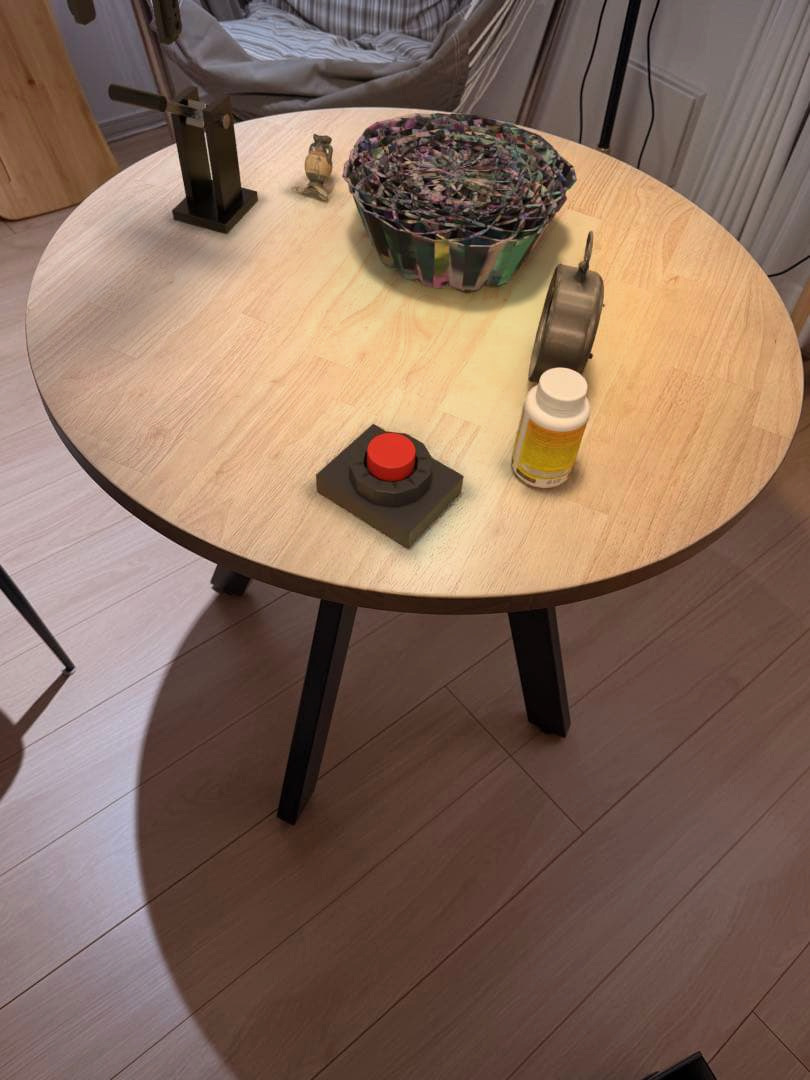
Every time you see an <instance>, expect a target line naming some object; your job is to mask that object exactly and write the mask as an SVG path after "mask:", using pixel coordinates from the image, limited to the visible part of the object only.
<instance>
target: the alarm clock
mask: <svg viewBox="0 0 810 1080" xmlns="http://www.w3.org/2000/svg"><path fill="white" fill-rule="evenodd" d="M586 237H587V238H586V241H585V242H586V243H585V247H584V255H583V260H582V261H580V262H579V263H578V266H577V267H576V266H571V265H566V264H563V263H559V264H557V265H556V266H555V268H554V271H553V274H552V276H551V279H550V282H549V284H548V288H547V293H546V295H545V299H544V303H543V307H542V310H541V313H540V314H541V315H540V318H539V322H538V326H537V330H536V333H535V338H534V343H533V346H532V352H531V356H530V362H529V366H528V367H529V368H528V376H527V377H528V378H527V379H528V381H529V382H530V383H534V384H539V380H540V377H541V376H542V374H543V373H544V372H546V371H547V370H549V369H553V368H568V369H571V370H574V371H576V372H578V373H579V374H580V375H582V376H583V373H584V372H585V369H586V367H587V364H588V361H589V360H592V359H593V357H594V354H593V353H592V349H593V346H594V343H595V339H596V335H597V333H598V328H599V325H600V321H601V315H602V312H603V308H605V306H606V304H604V297H605V283H604V279H603V277H602V276H601V274H600V273H598V271H594V270H590V261H591V258H592V253H593V246H594V231H593V230H589V231H588V234H587V236H586Z"/></svg>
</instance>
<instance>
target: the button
mask: <svg viewBox="0 0 810 1080" xmlns="http://www.w3.org/2000/svg"><path fill="white" fill-rule="evenodd" d="M415 452H416V451H415V446H414V444H413V443H412V442H411V440H409V439H408V438H407V437H405V436H403V435H400V434H396V433H385V434H381V435H378V436H376V437H375V438H374V439H372V440H371V442H370V443H369V445H368V449H367V466H368V469H369V471H370V472H371V473H372V475H374V476H375V477H376V478H378V479H380V480H383V481H389V482H394V481H400V480H403V479H405V478H406V477H408V476H409V475H410V474H411V473H412V471H413V469H414V464H415Z"/></svg>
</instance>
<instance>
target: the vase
mask: <svg viewBox="0 0 810 1080" xmlns="http://www.w3.org/2000/svg"><path fill="white" fill-rule="evenodd" d="M312 139H313V142H312V143H310V145H309V146H308V154H307V155H306V157H305V159H304V172H305V176H306V178H307V180H309V183H308V184H307V185H306V186H305V187H303V186H302V185H300V186H298V185H296V186H291V193H293V192H294V191H295V190H296V191H297V192H299V193H302V195H305V194H307V193H309V192H319V193H318V194H319V198H321V200H323V201H325V200H327V199H330V196H332V193H330V194H329V195H328V192H327V191H326V189H325V187H324V184H325V183H326V182H327V181H328V180H329V179H330V178H331V176H332V175H331V174H332V172H333V167H334V165H333V164H334V163H333V152H334V147H333V146H332V145H331V144H332V141H333V138H332V137H331V136H329V135H327V134H326V135H325V134H324V135H319V134H316V133H313V134H312ZM291 173H292V172H290V174H291Z"/></svg>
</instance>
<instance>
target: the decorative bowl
mask: <svg viewBox="0 0 810 1080" xmlns="http://www.w3.org/2000/svg"><path fill="white" fill-rule="evenodd" d="M341 178H343V180H344V181H345V182H346V183H347V186H348V190H349V191H348V192H349V194H351V195H352V198H353V201H354V204H355V206H356V209H357V211H358V214H359V217H360V220H361V222H362V225H363V227H364V231H365V234H366V236H367V237H368V239H369V241H370V244H371V246H372V248H373V249H374V250H375V252H377V255H378V257H379V259H380V261H381V262H382V264H383V265H385V266H387V267H389V268H392V269H396V270H397V272H398V273H399V274H400V275H401V277H402V278H403V279H406V280H409V281H420V282H421V284H423V285H425V286H428V287H431V288H434V289H443V288H445V287H447V286H448V288H449V289H452V290H455V291H458V292H460V293H463V294H470V293H474V292H478V291H480V290H481V289H482V288H483V287H484V286H487V287H494V288H495V287H501V286H503V285H505V284H507V282H508V281H509V279H510V278H511V277H512V276H513V275H515V274H517V272H518V270H519V269H520V267H521V266H522V264H523V263H525V262H526V260H527V259H528V257H529V256H530V254H531V253H532V251H533V249H534V248H535V246H536V245H537V243H538V241H539V240H540V238H541V237H542V235H543V233H544V232H545V230H546V229H547V228H548V225H549V224H550V223H552V222H553V221H554V219H555V216H556V214H557V213H559V212H560V211H561V209H562V208H563V206H564V204H565V203H567V200H568V197H567V191H569V190H571V189H572V187H573V186H574V185H575V183H576V182H577V181H578V179H577V174H576V169H575V166H574V165H573V164H571V163H570V162H569V161H568V160H567V159H566V158H564V157H563V156H562V155H561V154H559V152H558V150H557V149H556V148H554V146H553V145H552V144H551V143H550V142H548V141H547V140H546V139H545V138H544V137H542V136H541V135H539V134H537V133H535V132H533V131H530V130H527V129H525V128H520V127H519V126H517V125H515V124H514V123H513V124H512V123H509V122H506V121H505V122H504V121H500V120H496V119H493V118H490V117H485V116H482V115H479V114H471V113H470V114H469V113H452V112H451V113H442V112H435V113H422V112H421V113H420V112H419V113H418V112H414V113H408V114H404V115H399V116H395V117H393V118H390V119H384V120H379V121H376V122H374V123H373V124H371V125H370V126H368V127H366V128H365V129H364V131H363V133H362V134H361V136H359V137H358V139H357V140H356V142H355V143H354V145H353V147H352V149H350V150H349V154H348V160H346V161H345V162H344V163H343V169H342V176H341Z"/></svg>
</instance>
